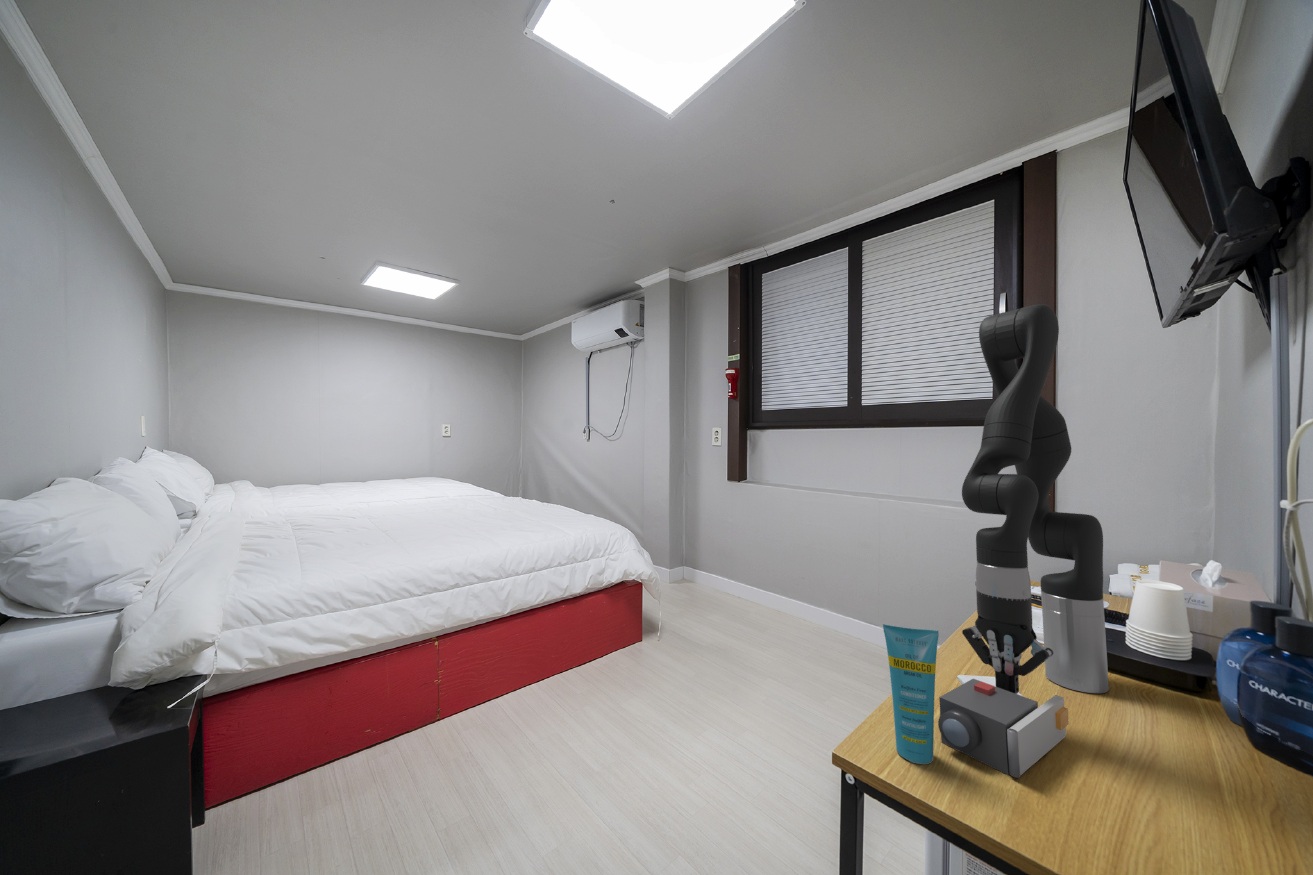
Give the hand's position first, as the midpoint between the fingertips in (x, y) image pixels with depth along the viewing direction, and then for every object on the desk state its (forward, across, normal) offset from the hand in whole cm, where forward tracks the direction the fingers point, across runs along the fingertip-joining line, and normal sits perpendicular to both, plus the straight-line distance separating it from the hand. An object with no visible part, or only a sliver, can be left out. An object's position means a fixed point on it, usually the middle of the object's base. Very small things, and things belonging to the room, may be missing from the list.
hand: (1007, 694), depth 78 cm
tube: (+5, +4, +21) cm, 22 cm away
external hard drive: (+5, +5, -8) cm, 11 cm away
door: (+4, -7, +6) cm, 10 cm away
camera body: (+5, -1, +10) cm, 11 cm away
